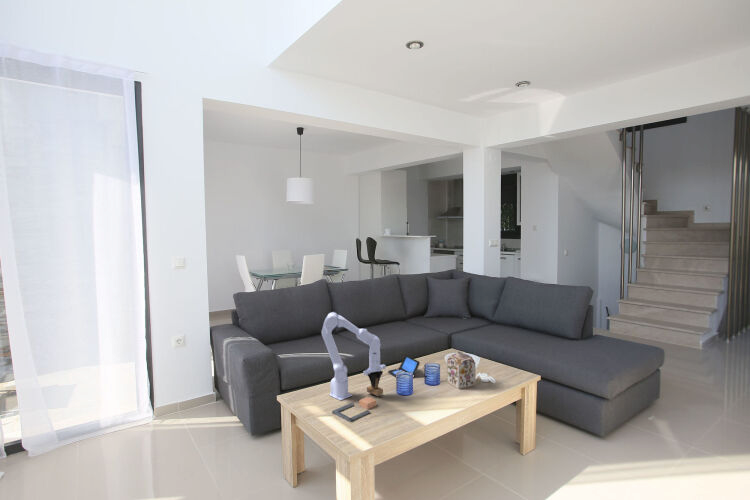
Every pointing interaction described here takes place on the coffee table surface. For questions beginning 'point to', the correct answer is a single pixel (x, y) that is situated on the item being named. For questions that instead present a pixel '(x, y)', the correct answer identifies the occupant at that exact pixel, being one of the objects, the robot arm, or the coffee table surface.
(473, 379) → the decorative jar
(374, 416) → the coffee table surface
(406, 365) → the handheld game console
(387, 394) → the coffee table surface
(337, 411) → the frame
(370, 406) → the tile
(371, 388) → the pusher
